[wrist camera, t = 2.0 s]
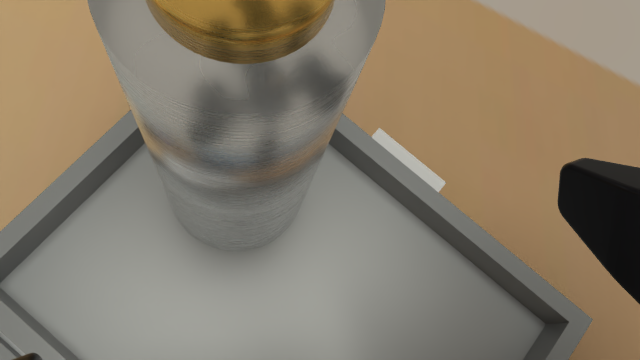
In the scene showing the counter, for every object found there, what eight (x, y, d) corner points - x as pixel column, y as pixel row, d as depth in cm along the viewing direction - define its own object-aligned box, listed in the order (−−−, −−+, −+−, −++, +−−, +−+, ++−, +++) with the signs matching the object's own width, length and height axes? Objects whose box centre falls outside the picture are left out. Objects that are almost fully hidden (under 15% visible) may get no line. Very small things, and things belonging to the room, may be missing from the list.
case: (562, 309, 22) (602, 304, 20) (355, 630, 18) (374, 672, 16) (239, 42, 23) (240, 7, 21) (-19, 290, 19) (-54, 282, 17)
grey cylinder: (328, 180, 21) (463, -65, 9) (242, 279, 20) (256, 154, 7) (231, 100, 21) (229, -247, 9) (140, 190, 20) (-11, -72, 8)
